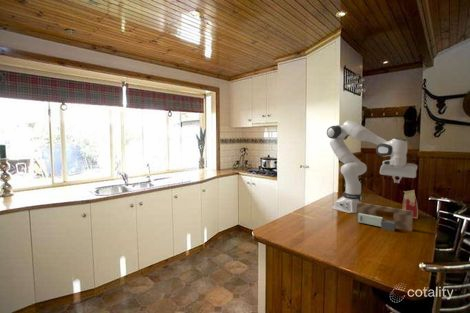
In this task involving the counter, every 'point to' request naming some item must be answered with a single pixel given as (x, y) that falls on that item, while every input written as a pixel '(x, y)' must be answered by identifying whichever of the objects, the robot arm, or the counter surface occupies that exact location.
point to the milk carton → (410, 202)
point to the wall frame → (400, 216)
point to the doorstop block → (388, 225)
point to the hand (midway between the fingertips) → (396, 182)
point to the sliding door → (369, 219)
